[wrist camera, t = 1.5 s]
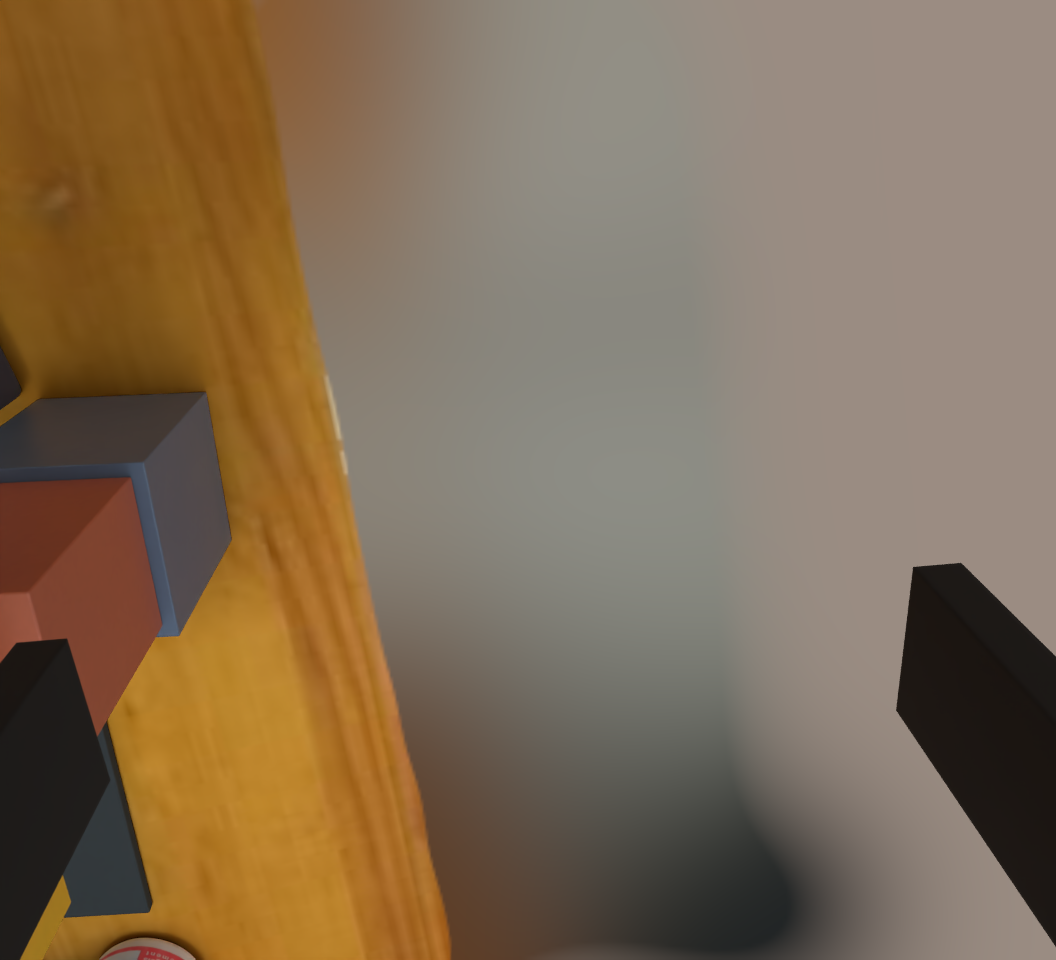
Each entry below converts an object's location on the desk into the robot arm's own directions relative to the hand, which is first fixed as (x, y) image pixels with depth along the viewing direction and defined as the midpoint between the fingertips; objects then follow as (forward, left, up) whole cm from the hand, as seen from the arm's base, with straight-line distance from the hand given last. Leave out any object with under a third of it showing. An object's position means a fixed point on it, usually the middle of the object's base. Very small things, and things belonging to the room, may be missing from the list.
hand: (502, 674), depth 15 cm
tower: (+7, -16, -26) cm, 31 cm away
